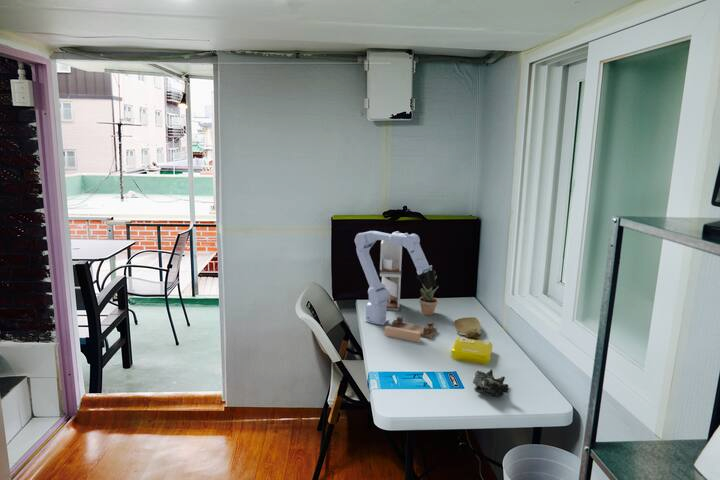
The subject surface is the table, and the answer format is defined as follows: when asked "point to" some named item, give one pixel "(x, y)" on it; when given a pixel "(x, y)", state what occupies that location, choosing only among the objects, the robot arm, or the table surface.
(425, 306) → the potted plant
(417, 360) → the table surface
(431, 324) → the strip rack
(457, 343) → the element tile
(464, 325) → the stone tool
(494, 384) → the mineral specimen
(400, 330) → the clay strip
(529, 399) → the table surface
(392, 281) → the display case
